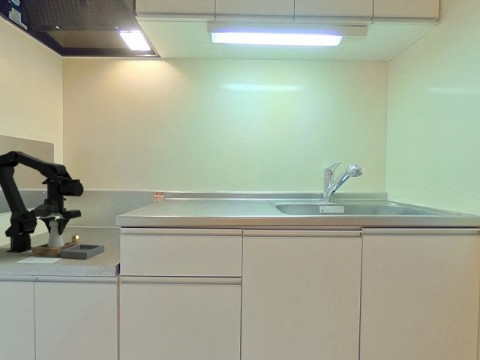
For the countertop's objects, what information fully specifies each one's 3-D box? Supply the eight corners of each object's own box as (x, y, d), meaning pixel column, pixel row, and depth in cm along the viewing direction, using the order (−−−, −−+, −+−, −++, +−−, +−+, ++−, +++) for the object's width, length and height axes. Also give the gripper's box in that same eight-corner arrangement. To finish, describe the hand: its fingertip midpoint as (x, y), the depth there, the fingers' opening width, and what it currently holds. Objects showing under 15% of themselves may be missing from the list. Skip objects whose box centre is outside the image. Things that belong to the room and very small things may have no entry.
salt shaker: (60, 249, 125) (60, 218, 125) (66, 252, 122) (66, 220, 121) (44, 252, 121) (44, 220, 120) (50, 255, 117) (50, 221, 117)
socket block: (32, 255, 116) (32, 247, 116) (54, 248, 128) (54, 241, 127) (57, 257, 115) (57, 249, 115) (77, 249, 126) (77, 242, 126)
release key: (59, 249, 125) (59, 238, 125) (74, 244, 134) (74, 234, 134) (66, 250, 125) (66, 239, 125) (80, 244, 134) (80, 234, 134)
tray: (60, 257, 115) (60, 250, 115) (79, 249, 126) (79, 243, 126) (86, 259, 113) (86, 252, 113) (104, 251, 124) (104, 245, 124)
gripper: (17, 196, 114) (17, 238, 114) (61, 198, 111) (62, 240, 112) (40, 194, 125) (41, 232, 125) (82, 196, 122) (82, 234, 123)
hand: (55, 235), depth 121 cm, fingers closed on salt shaker, 3 cm apart
